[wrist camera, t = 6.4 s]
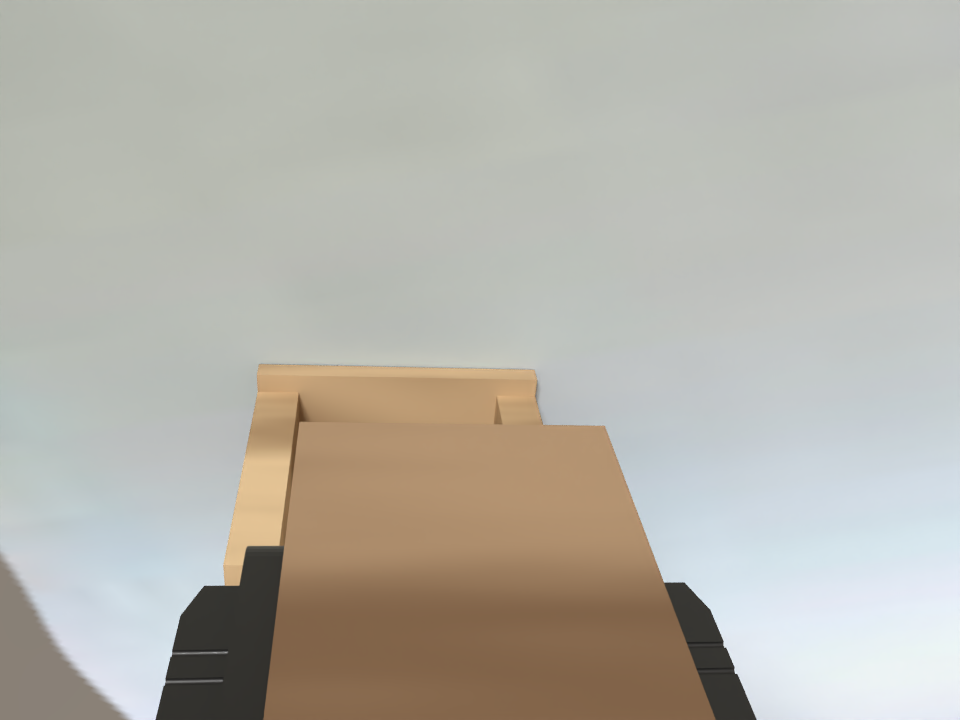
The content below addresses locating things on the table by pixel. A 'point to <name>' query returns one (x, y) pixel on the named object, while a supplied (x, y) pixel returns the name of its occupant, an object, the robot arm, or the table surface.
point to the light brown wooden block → (471, 581)
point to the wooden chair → (355, 400)
